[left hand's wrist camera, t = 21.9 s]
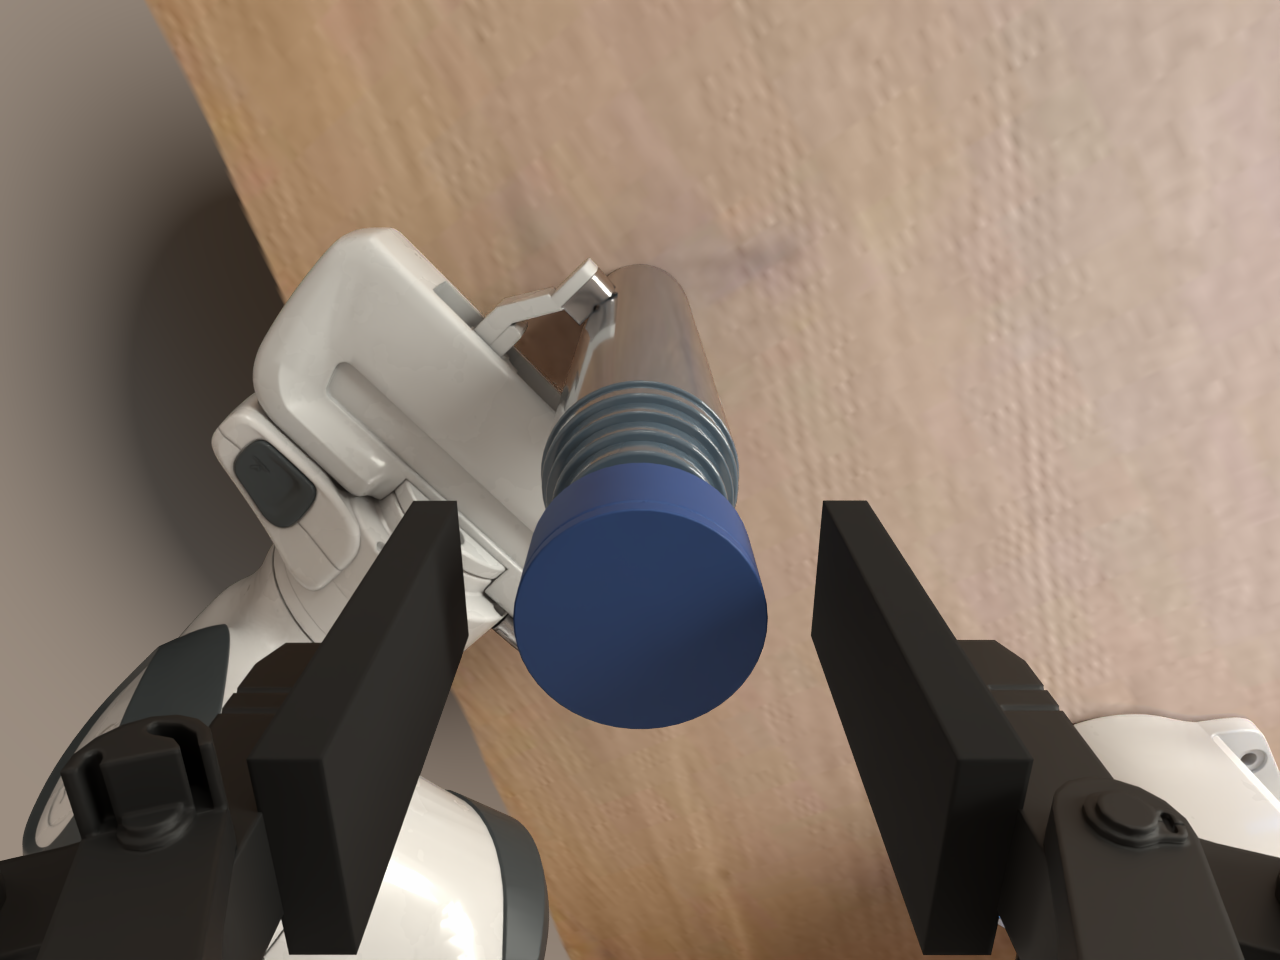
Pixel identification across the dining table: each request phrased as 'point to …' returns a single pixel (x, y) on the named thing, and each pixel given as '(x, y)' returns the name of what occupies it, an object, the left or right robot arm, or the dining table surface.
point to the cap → (640, 598)
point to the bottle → (640, 391)
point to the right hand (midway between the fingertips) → (656, 331)
